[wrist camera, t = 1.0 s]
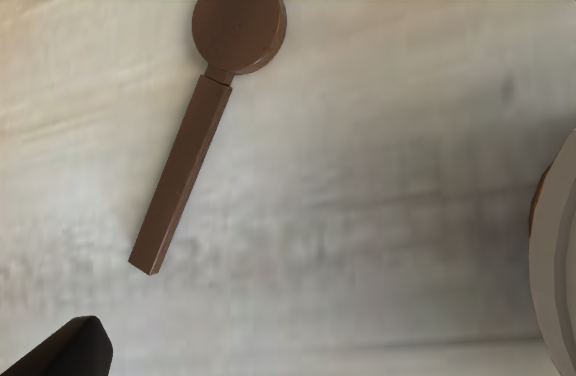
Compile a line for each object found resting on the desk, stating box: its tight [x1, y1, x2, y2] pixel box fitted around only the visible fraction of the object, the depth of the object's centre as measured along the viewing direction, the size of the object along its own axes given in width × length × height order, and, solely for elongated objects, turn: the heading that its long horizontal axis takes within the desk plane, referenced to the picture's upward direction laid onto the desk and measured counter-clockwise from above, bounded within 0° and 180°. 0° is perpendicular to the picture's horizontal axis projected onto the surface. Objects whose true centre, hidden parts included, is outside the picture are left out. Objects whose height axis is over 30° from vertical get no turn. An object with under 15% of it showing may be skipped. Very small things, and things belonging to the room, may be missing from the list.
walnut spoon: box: [128, 0, 287, 275], centre depth 23 cm, size 5×16×1 cm, turn 155°
